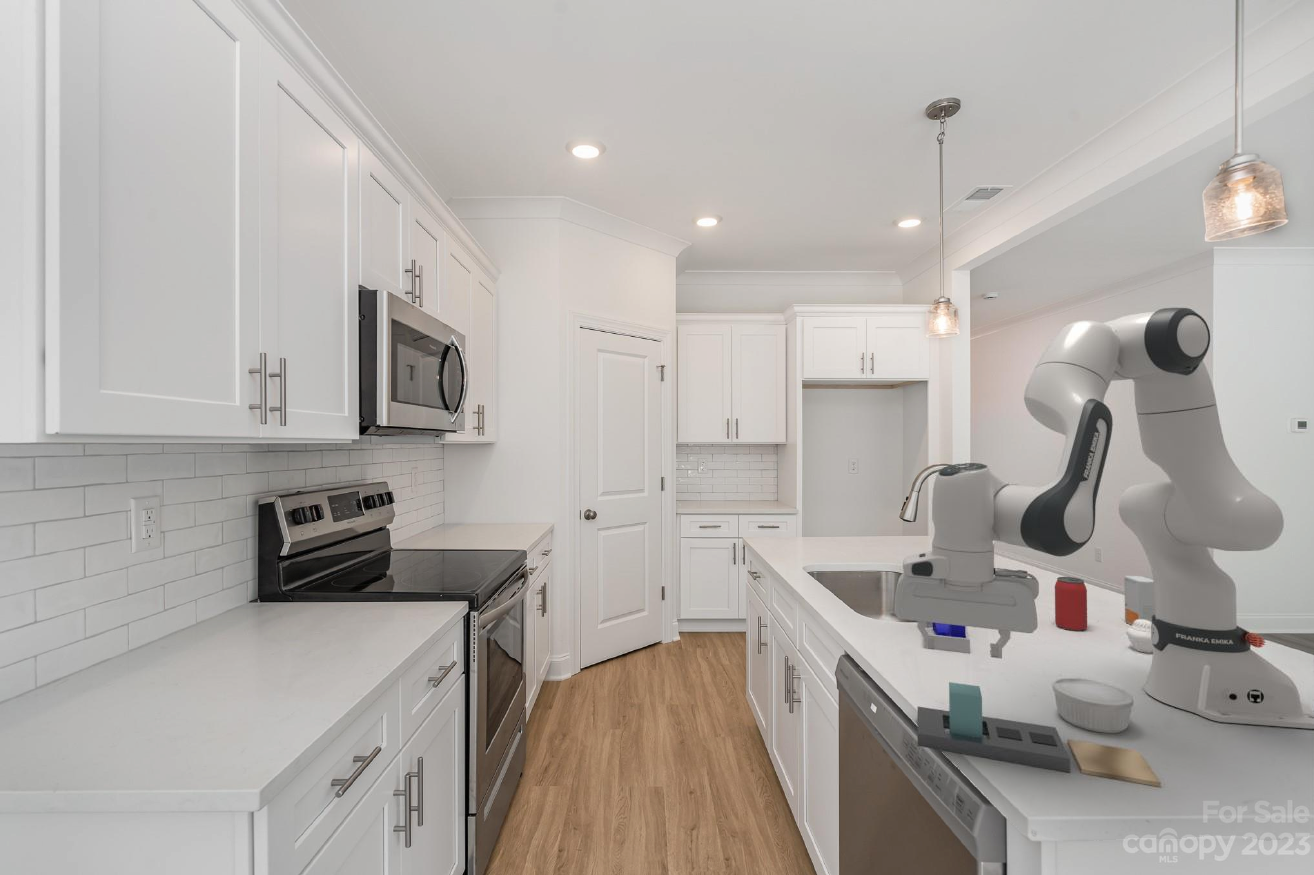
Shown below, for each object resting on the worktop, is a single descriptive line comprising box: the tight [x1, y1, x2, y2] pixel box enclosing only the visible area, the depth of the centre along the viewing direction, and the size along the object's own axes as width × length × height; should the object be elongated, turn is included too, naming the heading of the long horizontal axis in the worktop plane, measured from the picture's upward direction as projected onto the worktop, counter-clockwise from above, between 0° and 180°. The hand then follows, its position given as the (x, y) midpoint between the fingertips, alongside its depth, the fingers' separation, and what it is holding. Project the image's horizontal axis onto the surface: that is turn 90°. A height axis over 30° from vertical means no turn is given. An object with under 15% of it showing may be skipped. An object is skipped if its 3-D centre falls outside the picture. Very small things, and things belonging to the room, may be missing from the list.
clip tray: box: [923, 622, 971, 654], centre depth 143 cm, size 9×17×3 cm, turn 156°
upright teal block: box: [948, 681, 984, 739], centre depth 96 cm, size 4×4×8 cm
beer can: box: [1054, 576, 1088, 632], centre depth 150 cm, size 7×7×12 cm
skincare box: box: [1123, 575, 1155, 626], centre depth 150 cm, size 6×4×12 cm
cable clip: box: [932, 622, 966, 638], centre depth 143 cm, size 12×4×6 cm, turn 167°
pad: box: [1066, 739, 1162, 788], centre depth 88 cm, size 9×9×1 cm
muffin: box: [1125, 619, 1154, 654], centre depth 133 cm, size 6×6×7 cm
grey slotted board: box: [917, 706, 1071, 774], centre depth 94 cm, size 20×10×2 cm, turn 67°
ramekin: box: [1051, 677, 1135, 734], centre depth 101 cm, size 11×11×5 cm
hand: (962, 652), depth 96 cm, fingers open, 8 cm apart
